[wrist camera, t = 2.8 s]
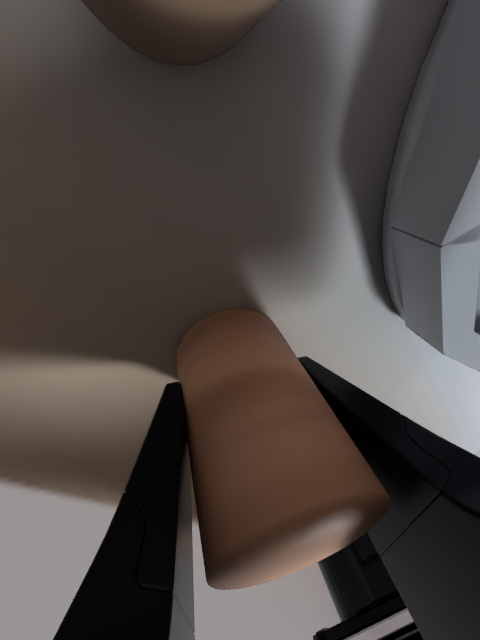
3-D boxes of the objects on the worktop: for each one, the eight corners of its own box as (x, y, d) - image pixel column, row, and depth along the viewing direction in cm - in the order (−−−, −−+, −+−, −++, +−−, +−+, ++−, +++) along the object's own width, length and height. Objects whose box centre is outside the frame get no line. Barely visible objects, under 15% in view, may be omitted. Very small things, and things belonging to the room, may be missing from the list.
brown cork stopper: (275, 380, 12) (361, 545, 7) (182, 399, 11) (211, 605, 6) (285, 300, 10) (420, 467, 5) (169, 317, 9) (198, 543, 4)
